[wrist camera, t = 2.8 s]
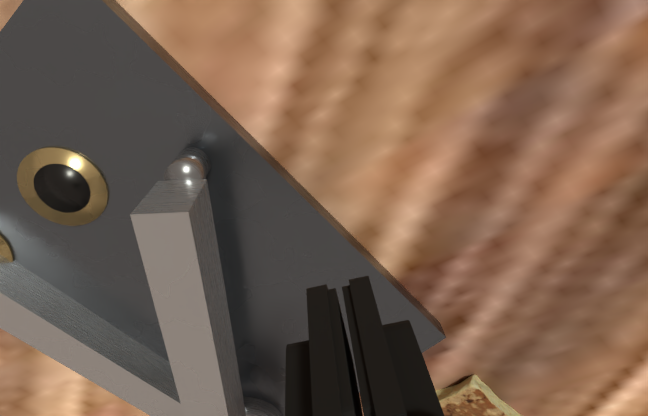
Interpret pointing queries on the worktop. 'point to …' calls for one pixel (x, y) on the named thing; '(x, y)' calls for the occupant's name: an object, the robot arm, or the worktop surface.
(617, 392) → the worktop surface
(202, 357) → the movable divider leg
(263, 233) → the divider base plate
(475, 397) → the shard
